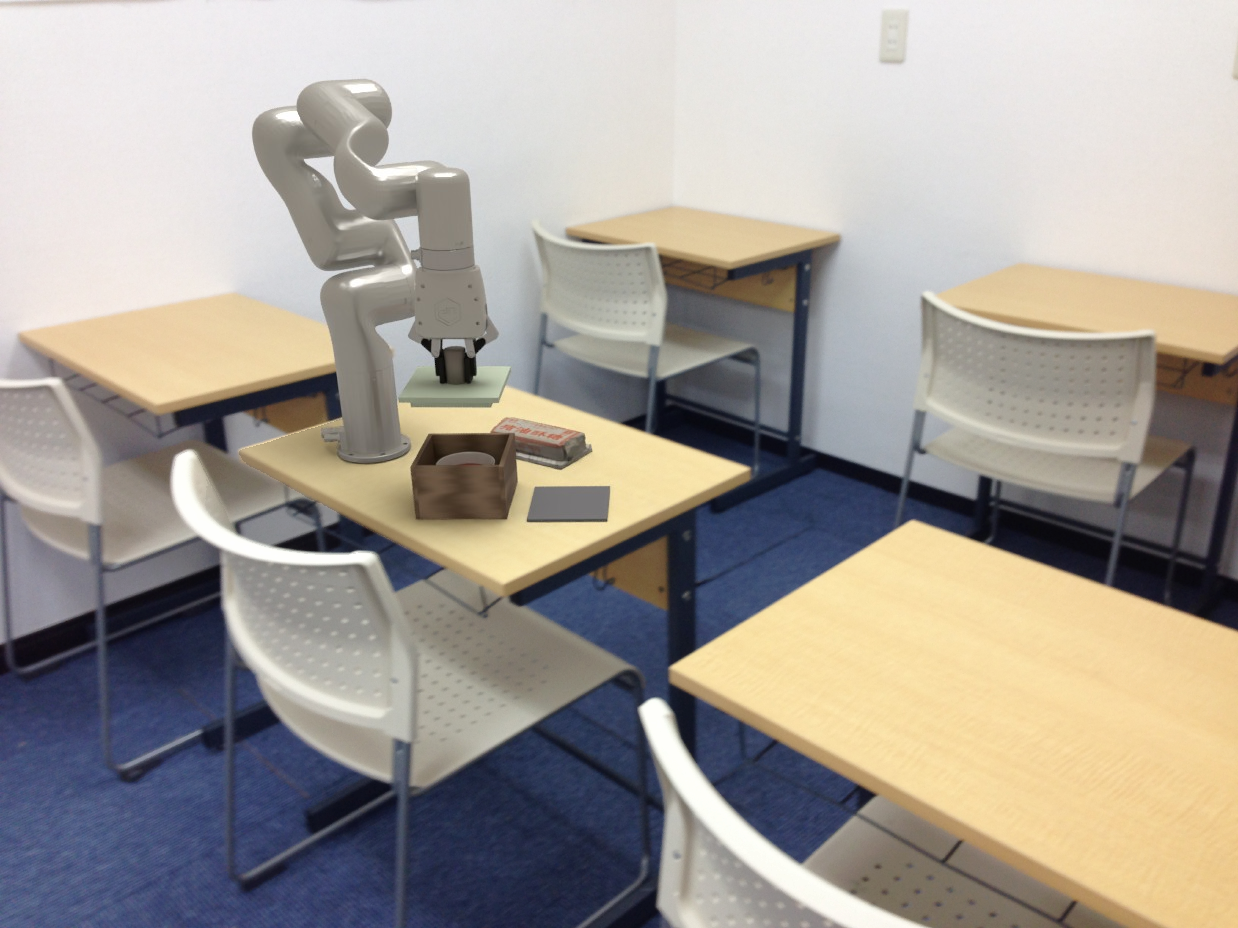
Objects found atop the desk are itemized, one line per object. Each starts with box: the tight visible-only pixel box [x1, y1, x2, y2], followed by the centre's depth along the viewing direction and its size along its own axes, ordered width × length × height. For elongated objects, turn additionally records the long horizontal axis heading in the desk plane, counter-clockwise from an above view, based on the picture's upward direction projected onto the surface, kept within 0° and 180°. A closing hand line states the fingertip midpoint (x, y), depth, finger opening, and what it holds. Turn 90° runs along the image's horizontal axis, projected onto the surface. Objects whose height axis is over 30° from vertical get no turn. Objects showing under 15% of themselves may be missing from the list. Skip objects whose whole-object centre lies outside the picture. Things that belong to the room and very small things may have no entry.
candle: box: [436, 452, 495, 465], centre depth 162 cm, size 9×9×6 cm
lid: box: [397, 345, 512, 409], centre depth 155 cm, size 14×14×7 cm
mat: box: [526, 485, 611, 523], centre depth 160 cm, size 12×12×1 cm
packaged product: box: [489, 416, 593, 470], centre depth 181 cm, size 18×5×10 cm
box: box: [409, 432, 519, 520], centre depth 161 cm, size 14×14×8 cm
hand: (456, 379), depth 156 cm, fingers closed on lid, 3 cm apart
